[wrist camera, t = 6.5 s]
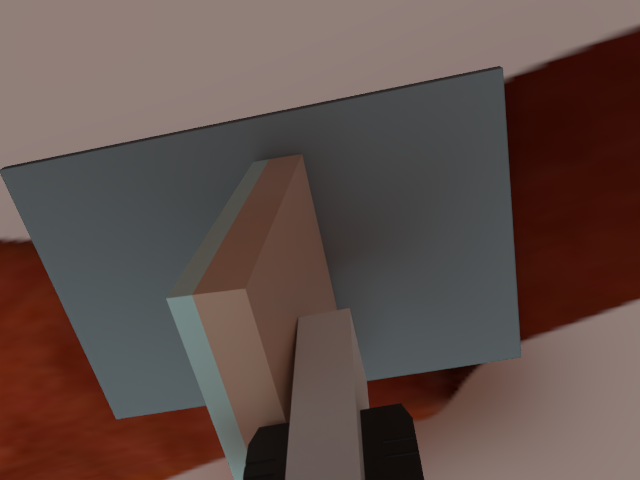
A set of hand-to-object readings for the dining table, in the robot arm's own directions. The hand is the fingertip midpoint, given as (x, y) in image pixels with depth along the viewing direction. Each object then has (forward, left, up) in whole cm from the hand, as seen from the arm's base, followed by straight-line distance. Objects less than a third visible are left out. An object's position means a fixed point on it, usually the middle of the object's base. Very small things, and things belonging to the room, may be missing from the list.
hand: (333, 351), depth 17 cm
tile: (-1, 0, -6) cm, 6 cm away
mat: (-2, 0, -6) cm, 7 cm away
